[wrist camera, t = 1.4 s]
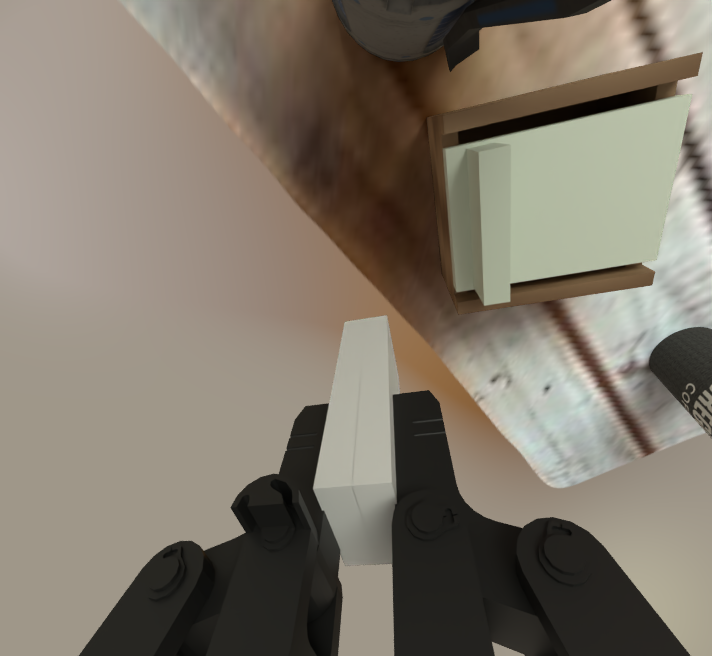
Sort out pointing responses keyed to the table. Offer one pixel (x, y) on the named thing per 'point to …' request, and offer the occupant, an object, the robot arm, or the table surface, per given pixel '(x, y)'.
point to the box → (539, 112)
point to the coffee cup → (687, 371)
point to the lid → (562, 196)
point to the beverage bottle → (441, 23)
